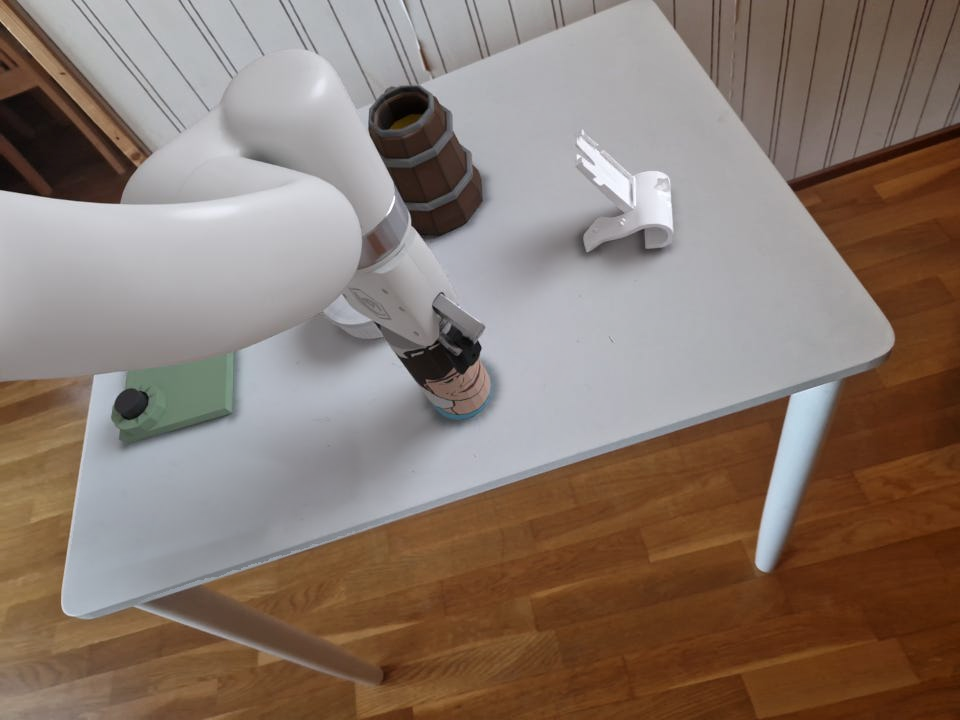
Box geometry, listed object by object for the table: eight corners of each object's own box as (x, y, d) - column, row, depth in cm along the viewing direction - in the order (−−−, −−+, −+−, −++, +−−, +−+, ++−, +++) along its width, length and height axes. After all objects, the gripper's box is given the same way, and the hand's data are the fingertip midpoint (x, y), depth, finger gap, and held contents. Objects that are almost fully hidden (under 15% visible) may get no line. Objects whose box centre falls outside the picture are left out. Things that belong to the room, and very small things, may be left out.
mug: (497, 209, 83) (464, 114, 71) (410, 250, 84) (361, 163, 71) (457, 135, 92) (421, 38, 79) (377, 173, 92) (329, 83, 80)
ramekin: (404, 354, 76) (387, 330, 72) (321, 341, 80) (300, 318, 76) (434, 274, 81) (420, 246, 76) (355, 266, 85) (337, 240, 80)
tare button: (147, 414, 78) (136, 408, 77) (123, 422, 78) (112, 415, 77) (149, 391, 80) (139, 384, 78) (126, 398, 80) (115, 392, 79)
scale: (232, 413, 78) (217, 402, 76) (126, 444, 80) (108, 435, 78) (235, 317, 86) (221, 304, 83) (138, 348, 88) (121, 336, 85)
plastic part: (673, 247, 74) (673, 173, 64) (583, 254, 76) (570, 183, 67) (670, 195, 77) (670, 117, 68) (584, 203, 80) (572, 129, 70)
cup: (453, 432, 70) (403, 363, 57) (420, 389, 73) (367, 316, 61) (504, 392, 70) (466, 316, 58) (469, 352, 74) (426, 272, 61)
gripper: (247, 221, 51) (342, 335, 66) (413, 304, 43) (480, 413, 58) (309, 153, 53) (388, 278, 68) (478, 221, 45) (527, 346, 60)
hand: (430, 340), depth 63 cm, fingers open, 9 cm apart
